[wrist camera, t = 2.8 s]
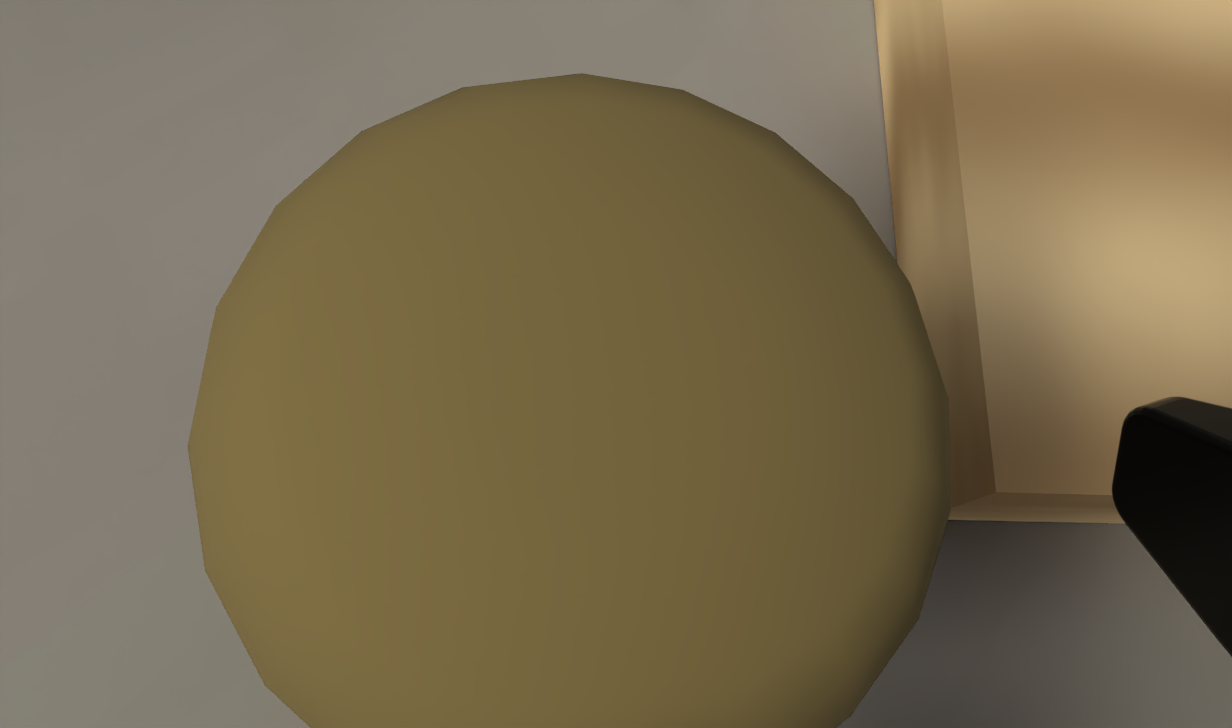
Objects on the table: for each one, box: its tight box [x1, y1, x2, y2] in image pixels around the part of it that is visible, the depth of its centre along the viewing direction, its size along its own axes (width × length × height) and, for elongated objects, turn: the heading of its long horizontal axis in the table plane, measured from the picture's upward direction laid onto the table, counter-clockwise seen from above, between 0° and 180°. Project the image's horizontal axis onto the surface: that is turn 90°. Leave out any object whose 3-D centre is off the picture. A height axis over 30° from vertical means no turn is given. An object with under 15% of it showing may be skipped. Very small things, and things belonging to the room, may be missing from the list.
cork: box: [188, 74, 951, 728], centre depth 11 cm, size 6×6×11 cm
